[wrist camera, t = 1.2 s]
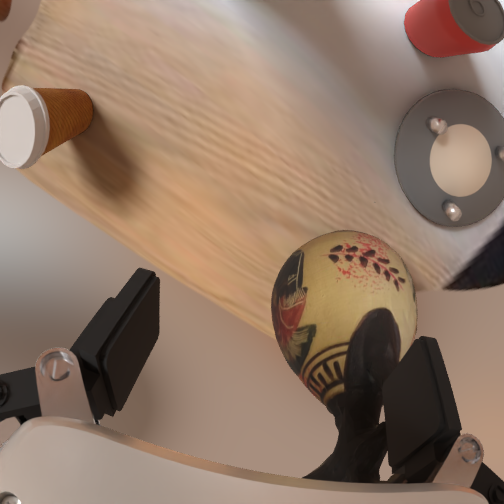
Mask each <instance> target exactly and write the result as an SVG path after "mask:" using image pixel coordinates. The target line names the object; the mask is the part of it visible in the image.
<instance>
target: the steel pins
mask: <svg viewBox="0 0 504 504" xmlns="http://www.w3.org/2000/svg"><path fill="white" fill-rule="evenodd" d="M426 127H427V128H428V129H429V130H431V131H433V132H435V133H437V134H441V135H442V134H444V133H446V131H447V128H448V126H447V123H446V121H444V120H443V119H440V118H437V117H433V116H430V117H428V118H427V119H426ZM495 156H496V157H497V158H498V159H500V160H502V161H504V147H503V146H500V145H499V146H497V147H496V148H495ZM442 210H443V211H444V212H445V213H446V215H447V216H448V217H449V218H450V219H451V220H452V221H458V220H459V219H460V218H461V215H462V212H461V210H460V209H459V208H458V207H457V206H456V205H455V204H454V203H453V202H452V201H451V200H445V201H444V202H443V203H442Z"/></svg>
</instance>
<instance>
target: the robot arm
mask: <svg viewBox="0 0 504 504" xmlns="http://www.w3.org/2000/svg"><path fill="white" fill-rule="evenodd" d="M159 293H160V279H159V277H156V274H155V272H153V271H150V270H146V269H142V268H138V269H137V270H136V272H135V273H134V274H133V275H132V277H131V278H130V279H129V281H128V282H127V283H126V285H125V286H124V287H123V289H122V290H121V291H120V292H119V294H118V295H117V296H116V298H112V297H110V298H108V299H107V300H106V301H105V303H104V304H103V305H102V307H101V308H100V309H99V310H98V312H97V313H96V315H95V316H94V317H93V318H92V320H91V321H90V322H89V324H88V325H87V327H86V328H85V329H84V331H83V332H82V333H81V335H80V336H79V337H78V339H77V341H76V342H75V343H74V344H73V346H72V347H71V349H70V350H67V349H64V348H52V349H49V350H46V351H45V352H43V353H42V354H41V355H40V356H39V358H38V359H37V362H36V366H35V367H31V368H27V369H23V370H18V371H14V372H10V373H6V374H1V375H0V448H1V447H2V443H4V442H5V441H7V440H8V441H7V443H6V444H5V446H4V447H3V449H2V450H1V452H0V504H504V482H503V480H501V479H500V478H499V477H498V476H497V475H496V474H495V473H494V472H493V471H492V470H491V469H489V468H488V467H487V466H486V465H485V464H484V463H483V462H482V461H483V457H484V450H483V446H482V444H481V442H480V441H479V440H478V439H477V438H476V437H475V436H473V435H472V434H462V435H460V430H462V428H461V423H460V419H459V415H458V411H457V407H456V403H455V399H454V395H453V391H452V388H451V384H450V381H449V377H448V374H447V371H446V367H445V364H444V361H443V358H442V355H441V352H440V349H439V346H438V343H437V340H436V339H435V338H431V337H425V336H421V337H420V338H419V339H416V340H415V341H414V342H413V343H412V345H411V346H410V348H409V349H408V351H407V352H406V354H405V355H404V356H403V358H402V359H401V361H400V362H399V363H398V365H397V366H396V367H395V369H394V370H393V371H392V373H391V374H390V375H389V377H388V378H387V379H386V381H385V382H384V384H383V387H382V395H383V404H384V412H385V423H386V435H387V448H388V462H389V466H391V467H392V474H404V473H405V480H404V481H403V482H402V484H371V483H347V482H333V481H322V480H312V479H303V478H295V477H288V476H281V475H275V474H269V473H263V472H257V471H253V470H247V469H243V468H238V467H233V466H229V465H224V464H220V463H216V462H212V461H208V460H204V459H201V458H197V457H193V456H190V455H186V454H183V453H180V452H176V451H173V450H170V449H167V448H164V447H160V446H157V445H154V444H151V443H148V442H145V441H142V440H139V439H137V438H134V437H131V436H128V435H126V434H123V433H120V432H117V431H114V430H111V429H109V428H106V427H103V426H101V425H100V422H99V420H100V419H102V418H103V416H104V414H108V415H110V416H114V414H115V412H116V410H118V411H121V410H122V408H123V406H124V404H125V402H126V400H127V398H128V396H129V394H130V392H131V390H132V388H133V386H134V384H135V382H136V380H137V378H138V376H139V374H140V372H141V370H142V368H143V366H144V364H145V362H146V360H147V358H148V357H149V355H150V352H151V351H152V349H153V347H154V345H155V343H156V341H157V339H158V336H159V298H160V297H159V296H160V295H159Z"/></svg>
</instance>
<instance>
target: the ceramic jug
mask: <svg viewBox="0 0 504 504" xmlns="http://www.w3.org/2000/svg"><path fill="white" fill-rule="evenodd" d="M374 203H375V202H374ZM271 311H272V321H273V326H274V330H275V335H276V339H277V342H278V344H279V347H280V349H281V351H282V353H283V355H284V357H285V359H286V361H287V363H288V364H289V366H290V367H291V369H292V370H293V371H294V372H295V374H296V375H297V376H298V377H299V379H300V380H301V381H302V382H303V384H304V385H305V386H306V387H307V388H308V389H309V391H310V392H311V393H312V394H313V395H314V396H315V397H316V398H317V399H318V400H319V401H321V403H323V404H324V405H325V406H326V408H327V409H328V411H329V412H330V413H331V414H333V415H334V417H335V424H336V427H337V429H338V431H339V436H338V441H337V444H336V447H335V449H334V452H333V453H332V454H331V455H330V456H329V457H328V458H327V459H326V460H325V461H324V462H323V463H322V464H321V465H320V466H319V467H318V468H317V469H315V470H314V471H313V472H311V473H310V474H308V475H307V476H305V477H303V479H312V480H322V481H333V482H347V483H371V484H402V482H403V481H404V480H405V473H404V474H394V475H392V476H391V477H390V478H389V479H388V481H380V475H379V469H380V466H381V464H382V461H383V459H384V457H385V455H386V453H387V450H388V448H387V435H386V423H385V422H382V423H380V424H379V418H380V412H381V407H382V406H383V405H384V404H383V395H382V387H383V384H384V382H385V381H386V379H387V378H388V377H389V375H390V374H391V373H392V371H393V370H394V369H395V367H396V366H397V365H398V363H399V362H400V361H401V359H402V358H403V356H404V355H405V354H406V352H407V351H408V349H409V348H410V346H411V345H412V343H413V342H414V338H415V334H416V330H417V301H416V293H415V289H414V285H413V281H412V278H411V275H410V273H409V271H408V269H407V267H406V265H405V264H404V262H403V260H402V259H401V258H400V256H399V255H398V254H397V253H396V252H395V251H394V250H393V249H392V248H391V247H390V246H389V245H387V244H386V243H385V242H383V241H382V240H380V239H379V238H377V237H374V236H371V235H368V234H365V233H362V232H356V231H350V230H341V231H335V232H331V233H328V234H325V235H322V236H320V237H317V238H315V239H313V240H311V241H309V242H308V243H306V244H304V245H303V246H301V247H300V248H299V249H297V250H296V251H295V252H294V253H293V254H292V255H291V256H290V257H289V258H288V260H287V261H286V262H285V264H284V265H283V267H282V269H281V270H280V272H279V274H278V277H277V279H276V282H275V284H274V288H273V292H272V300H271Z"/></svg>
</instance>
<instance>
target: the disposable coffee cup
mask: <svg viewBox="0 0 504 504" xmlns="http://www.w3.org/2000/svg"><path fill="white" fill-rule="evenodd" d="M92 117H93V106H92V102H91V100H90V98H89V96H88V95H87V94H86V93H85V92H84V91H82V90H78V89H53V88H30V87H28V86H25V85H21V86H15V87H13V88H11V89H10V90H9V91H8V92H7V93H5V94H4V95H2V96H1V97H0V160H1V162H2V163H4V164H5V165H7V166H8V167H11V168H20V169H25V168H28V167H31V166H32V165H33V164H35V163H36V162H37V161H38V159H39V158H40V157H41V156H42V155H44V154H45V153H47V152H49V151H51V150H52V149H54V148H55V147H57V146H59V145H61V144H63V143H64V142H66V141H68V140H69V139H71V138H73V137H75V136H77V135H79V134H80V133H82V132H84V131H85V130H86V129H87V128H88V127H89V125H90V123H91V120H92Z"/></svg>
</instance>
